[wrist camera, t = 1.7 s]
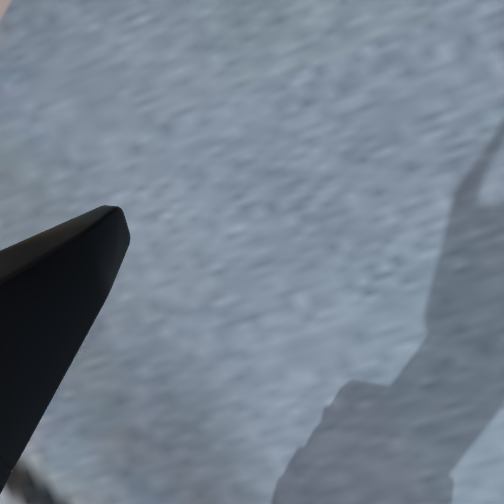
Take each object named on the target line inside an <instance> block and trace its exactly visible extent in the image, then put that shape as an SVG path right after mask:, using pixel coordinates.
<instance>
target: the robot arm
mask: <svg viewBox="0 0 504 504" xmlns="http://www.w3.org/2000/svg"><path fill="white" fill-rule="evenodd" d="M129 243H130V233H129V229H128V226H127V223H126V219H125V216H124V213H123V210H122V209H121V208H120V207H118V206H107V205H104V206H101V207H98V208H96V209H94V210H92V211H89V212H87V213H85V214H83V215H80V216H78V217H76V218H73V219H71V220H69V221H67V222H64V223H62V224H60V225H58V226H55V227H53V228H51V229H49V230H46V231H44V232H42V233H40V234H37V235H35V236H33V237H30V238H28V239H26V240H24V241H21V242H19V243H17V244H15V245H12V246H10V247H8V248H6V249H3V250H1V251H0V493H1V492H2V490H3V488H4V486H5V484H6V482H7V481H8V479H9V477H10V475H11V473H12V471H11V470H13V469H14V467H15V465H16V464H17V462H18V460H19V458H20V456H21V454H22V453H23V451H24V449H25V447H26V445H27V444H28V442H29V440H30V438H31V436H32V434H33V433H34V431H35V429H36V427H37V425H38V423H39V422H40V420H41V418H42V416H43V414H44V412H45V411H46V409H47V407H48V405H49V403H50V401H51V400H52V398H53V396H54V394H55V392H56V390H57V389H58V387H59V385H60V383H61V381H62V379H63V378H64V376H65V374H66V372H67V370H68V368H69V367H70V365H71V363H72V361H73V359H74V357H75V356H76V354H77V352H78V350H79V348H80V346H81V345H82V343H83V341H84V339H85V337H86V335H87V334H88V332H89V330H90V328H91V326H92V324H93V323H94V321H95V319H96V317H97V315H98V313H99V312H100V310H101V308H102V306H103V304H104V302H105V300H106V299H107V297H108V295H109V292H110V290H111V288H112V286H113V283H114V281H115V278H116V276H117V273H118V271H119V268H120V266H121V263H122V261H123V259H124V256H125V254H126V251H127V249H128V246H129Z"/></svg>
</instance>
